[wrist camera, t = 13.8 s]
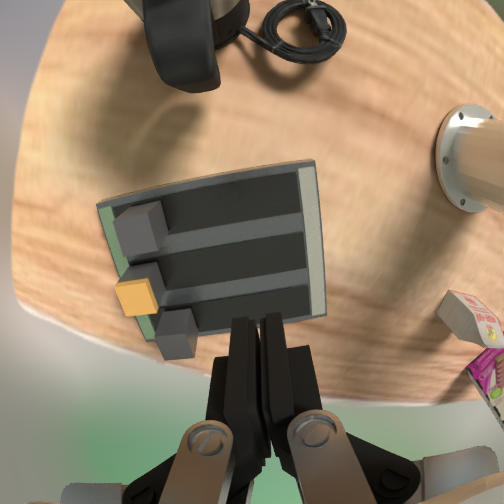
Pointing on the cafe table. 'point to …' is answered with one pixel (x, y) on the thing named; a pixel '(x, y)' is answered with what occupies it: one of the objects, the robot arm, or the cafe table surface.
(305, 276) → the panel
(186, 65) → the milk frother
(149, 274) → the block
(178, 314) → the breaker far
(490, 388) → the candy bar box
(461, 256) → the cafe table surface
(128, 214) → the block
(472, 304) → the grey boxy piece
